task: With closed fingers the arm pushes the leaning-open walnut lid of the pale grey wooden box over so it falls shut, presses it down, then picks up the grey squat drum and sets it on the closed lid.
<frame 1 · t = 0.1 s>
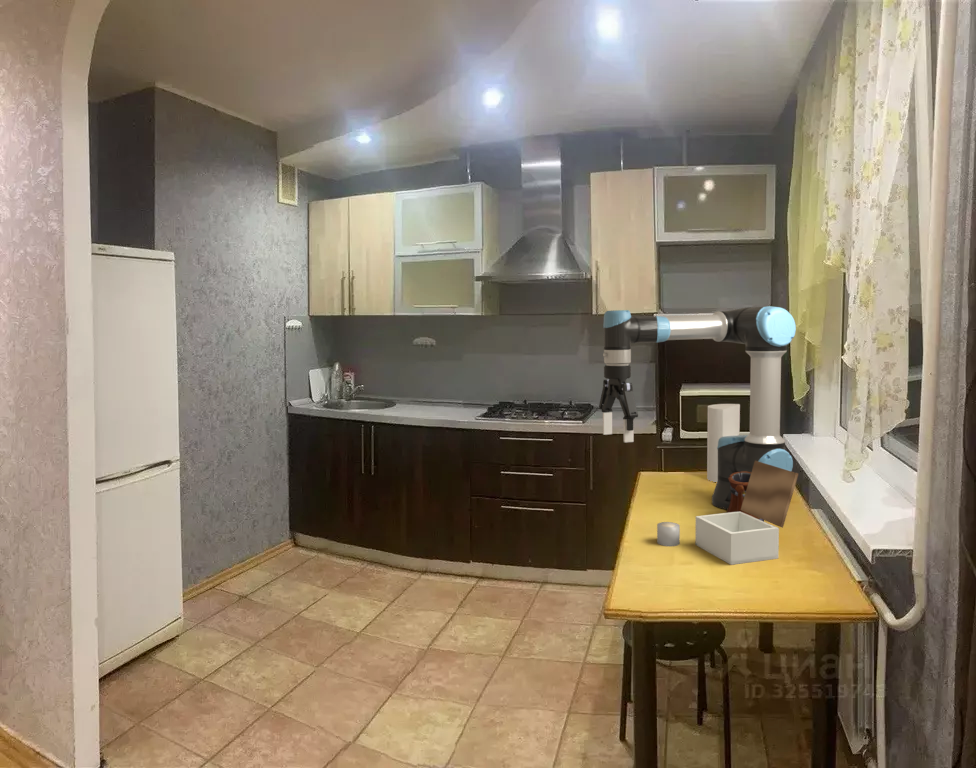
hand: (617, 438, 194), 28 cm above the table, fingers open, 13 cm apart
grey squat drum: (668, 542, 187), on the table
box: (735, 551, 179), on the table
lid: (769, 492, 180), point 15 cm above the table, hinge at 108.0°
mug: (742, 526, 200), on the table, touching arm
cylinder: (730, 480, 256), on the table
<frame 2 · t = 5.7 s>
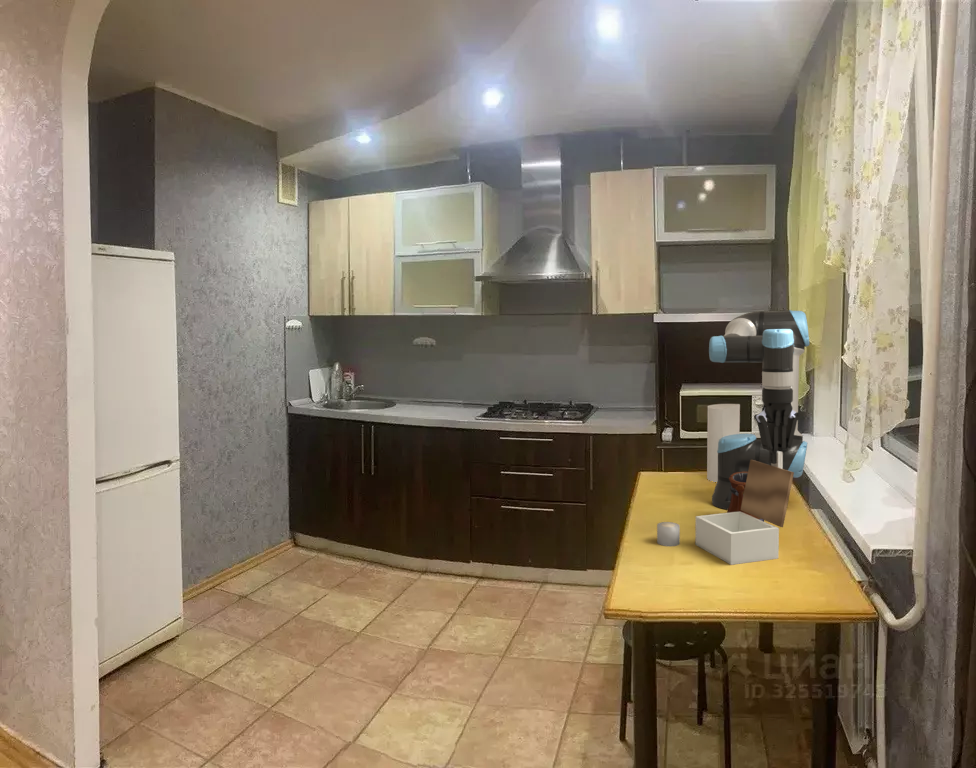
hand: (776, 475, 180), 20 cm above the table, fingers closed
lid: (767, 492, 180), point 15 cm above the table, hinge at 102.1°, touching gripper
mug: (742, 526, 200), on the table
everything else where it was.
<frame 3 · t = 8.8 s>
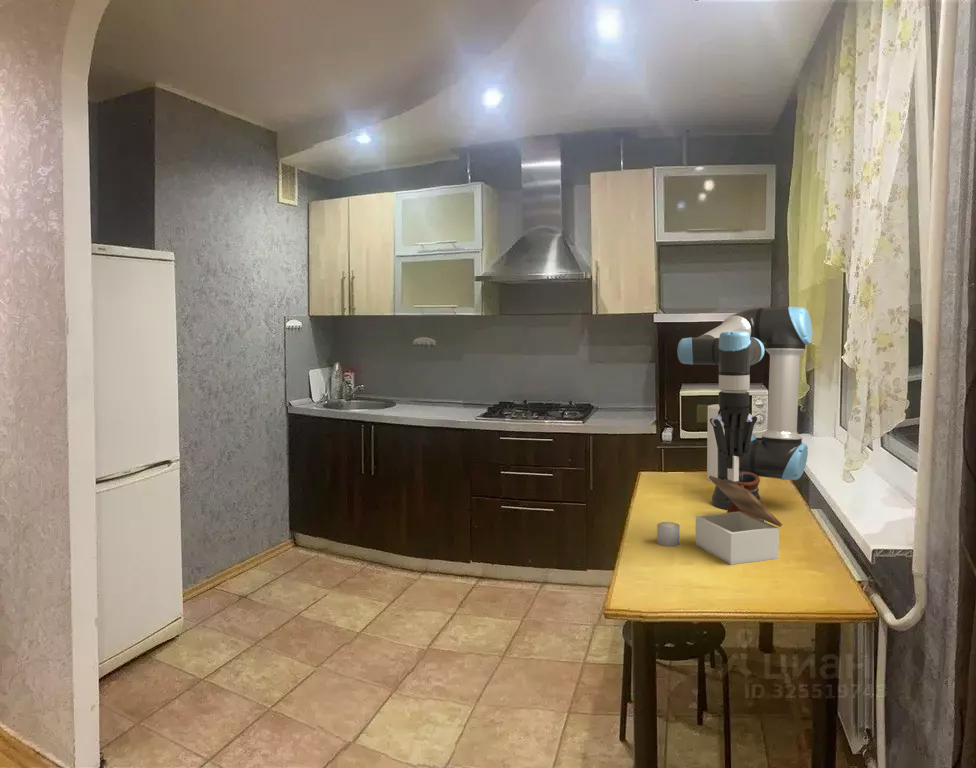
hand: (733, 480, 177), 19 cm above the table, fingers closed
lid: (744, 499, 178), point 14 cm above the table, hinge at 44.6°, touching gripper
everything else where it was.
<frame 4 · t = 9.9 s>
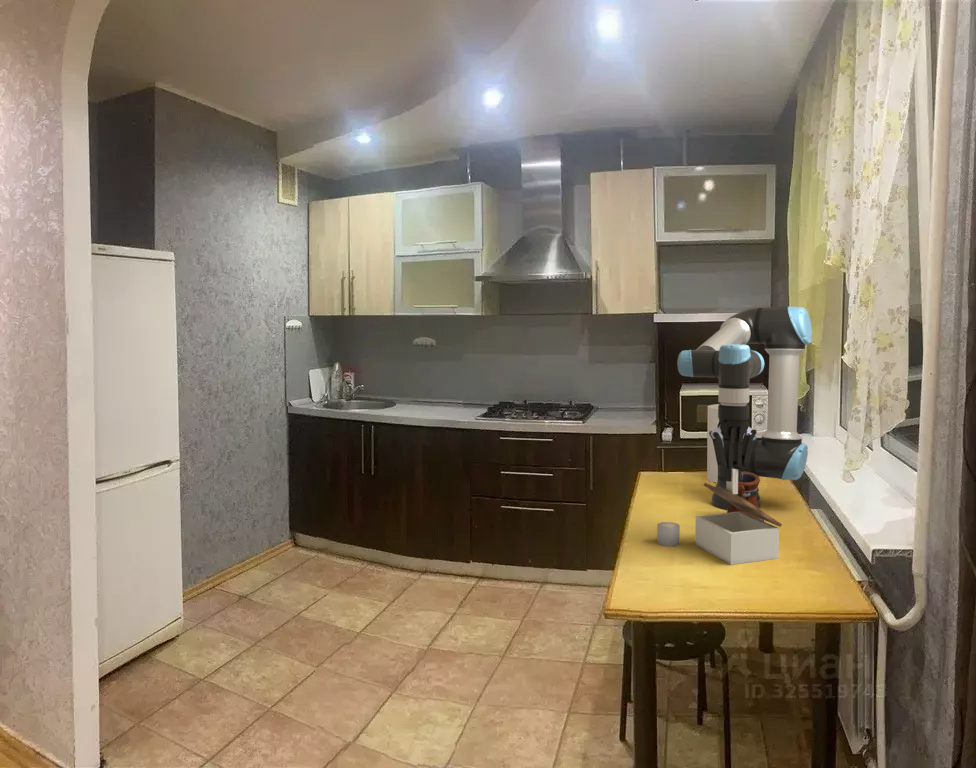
hand: (732, 492, 177), 16 cm above the table, fingers closed
lid: (741, 503, 178), point 13 cm above the table, hinge at 34.4°, touching gripper
everything else where it was.
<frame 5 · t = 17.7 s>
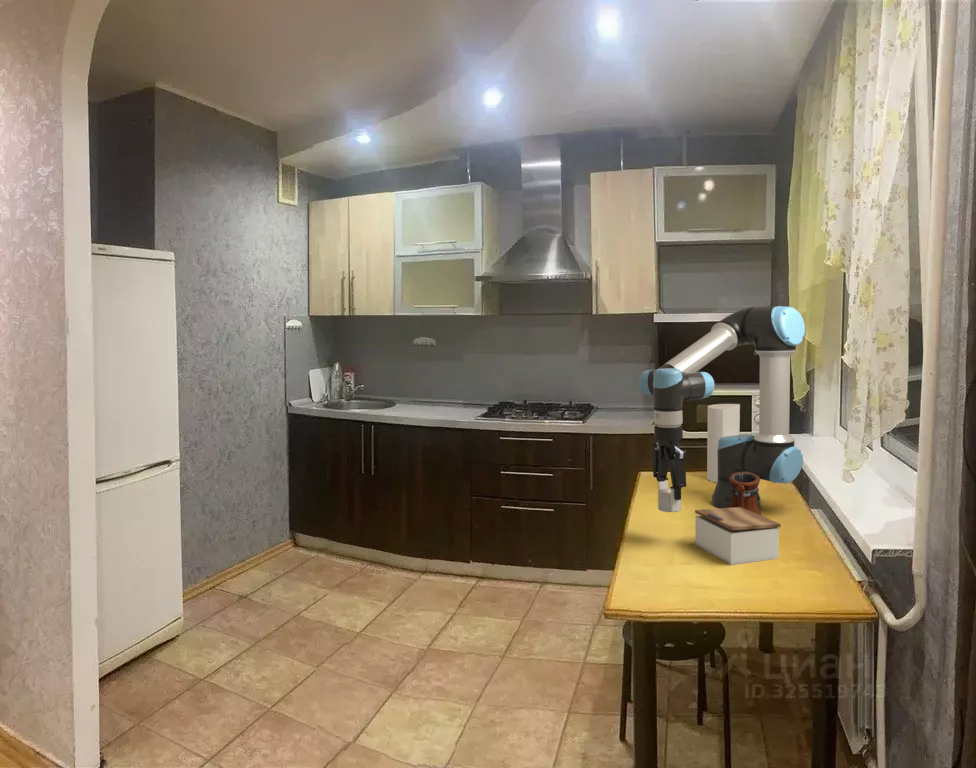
hand: (669, 507, 186), 10 cm above the table, fingers closed on grey squat drum, 6 cm apart
grey squat drum: (669, 508, 186), point 10 cm above the table, touching gripper
lid: (736, 517, 178), point 9 cm above the table, hinge at 2.6°
everything else where it was.
when the fingers open (9 cm above the table, at t = 21.0 s): grey squat drum stays where it is, resting on lid.
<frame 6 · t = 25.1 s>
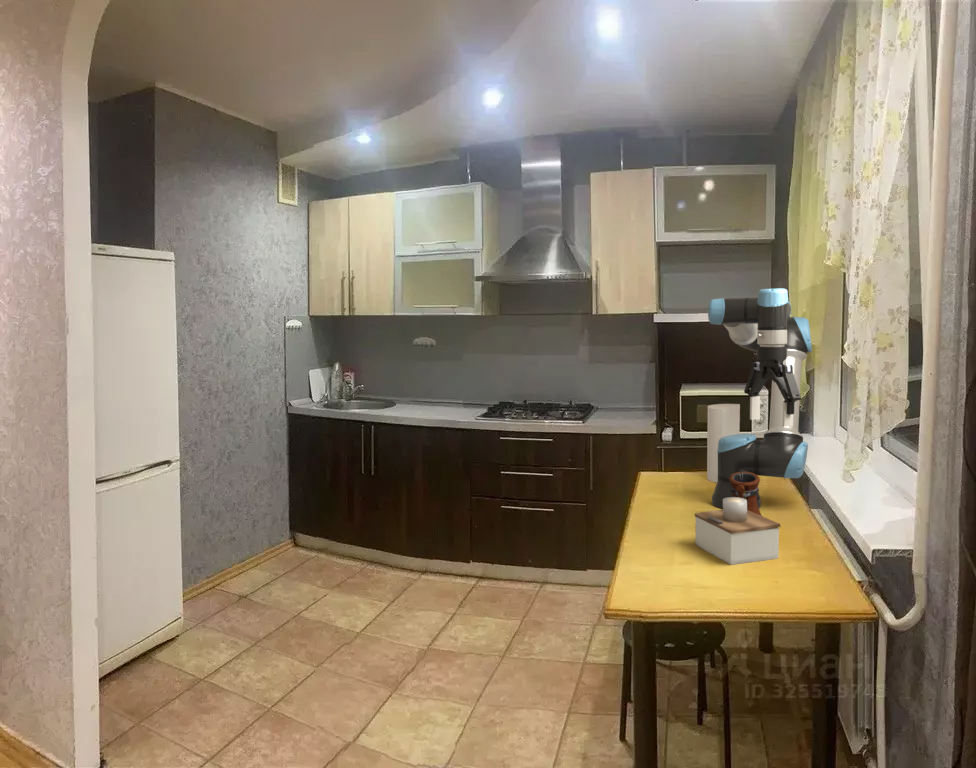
hand: (770, 422, 185), 33 cm above the table, fingers open, 13 cm apart
grey squat drum: (735, 518, 178), point 9 cm above the table, touching lid
lid: (736, 518, 178), point 9 cm above the table, hinge at -1.2°, touching box, grey squat drum
everything else where it was.
at the end: lid at -1° (first picture: +108°); grey squat drum inside the target area on the box (0.3 cm from its centre), point 9.0 cm above the box's base; grey squat drum tilted 1° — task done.
